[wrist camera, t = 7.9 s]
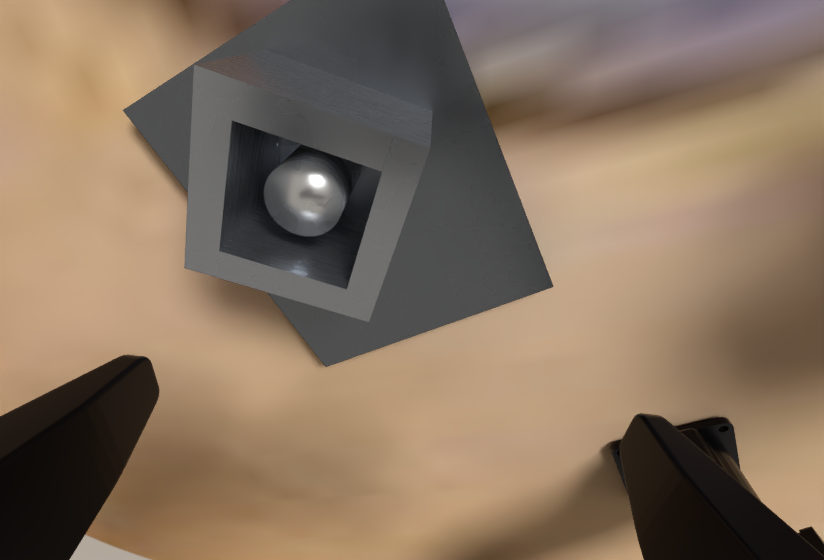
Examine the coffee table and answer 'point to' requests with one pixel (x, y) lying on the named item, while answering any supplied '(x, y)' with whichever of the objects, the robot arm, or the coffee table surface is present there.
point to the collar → (258, 156)
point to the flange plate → (357, 184)
